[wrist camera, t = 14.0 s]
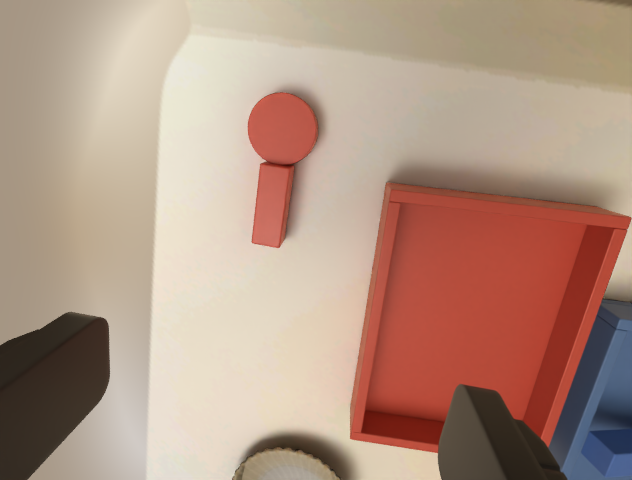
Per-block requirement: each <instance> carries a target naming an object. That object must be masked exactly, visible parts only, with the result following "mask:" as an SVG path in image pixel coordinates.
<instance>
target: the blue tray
mask: <svg viewBox="0 0 632 480" xmlns="http://www.w3.org/2000/svg"><path fill="white" fill-rule="evenodd" d="M619 429H632V303H630V302H622V301H614V300H607V299H602V302H601V304H600V307H599V310H598V313H597V315H596V318H595V321H594V324H593V326H592V329H591V332H590V335H589V337H588V340H587V343H586V346H585V348H584V351H583V354H582V357H581V359H580V362H579V365H578V368H577V370H576V373H575V376H574V379H573V381H572V384H571V387H570V390H569V392H568V395H567V398H566V401H565V403H564V406H563V409H562V412H561V414H560V417H559V420H558V423H557V425H556V428H555V431H554V434H553V436H552V439H551V442H550V445H549V447H548V448H549V450H550V452H551V453H552V455H553V456H554V458H555V460H556V461H557V463H558V465H559V466H560V472H563V473H564V474H565V476H566V477H567V479H568V480H632V476H620V477H607V478H606V477H604V476H603V475H602V474H601V473H600V472H599V471H598V470H597V469H596V468H595V467H594V466H593V465H592V464H591V463H590V462H589V461H588V460H587V459H586V458H585V457H584V456H583V455H582V453H581V451H582V449H583V446H584V444H585V441H586V439H587V436H588V434H589V432H590V431H599V430H619Z"/></svg>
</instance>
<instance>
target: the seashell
mask: <svg viewBox="0 0 632 480" xmlns="http://www.w3.org/2000/svg"><path fill="white" fill-rule="evenodd" d="M232 480H341V478H340V477H339V476H338V475H337V474H336V472H335V471H334V470H333V469H331V468H330V467H329V466H328V465H327V464H326V463H322V461H321V459H320V458H318V457H316V458H314V457H313V455H312V454H311V453H303V452H302V450H300V449H297V450H292V449H291V448H285V449H281V448H279V447H276V448H274V449H273V450H271V449H269V448H267V449H265V450H264V451H263V452H260V451H257V452H256V453H255V454H254V455H252V456H249V457H247V459H246V461H243V462H242V463H241V464H240V466H239V468H238V469H237V470H236V471H235V476H234V477H233V478H232Z"/></svg>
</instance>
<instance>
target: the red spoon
mask: <svg viewBox="0 0 632 480" xmlns="http://www.w3.org/2000/svg"><path fill="white" fill-rule="evenodd" d="M248 135H249V139H250V142H251V144H252V146H253V148H254V150H255V151H256V152H257V153H258V155H260V156H261V157H262V158H263V159H265V160H266V161H267V162H264V163H261V164H260V171H259V180H258V189H257V198H256V207H255V216H254V225H253V235H252V243H254V244H259V245H265V246H270V247H276V248H280V246H281V244H282V243H283V241H284V240H285V233H286V225H287V218H288V211H289V204H290V196H291V189H292V182H293V175H294V166H293V165H289V164H293V163H296V162H298V161H300V160H302V159H303V158H305V157H306V156H307V155H308V154H309V153H310V152H311V150H312V149H313V147H314V145H315V143H316V140H317V136H318V123H317V119H316V116H315V114H314V112H313V110H312V109H311V107H310V106H309V105H308V104H307V103H306V102H305V101H303V100H302V99H301V98H299V97H297V96H295V95H293V94H289V93H283V92H280V93H273V94H270V95H268V96H266V97H264V98H263V99H261V100H260V101H259V102H258V103H257V104H256V105H255V106H254V108H253V110H252V112H251V114H250V117H249V121H248Z"/></svg>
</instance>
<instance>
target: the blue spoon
mask: <svg viewBox="0 0 632 480" xmlns="http://www.w3.org/2000/svg"><path fill="white" fill-rule="evenodd" d="M581 453H582V455H583V456H584V457H585V458H586V459H587V460H588V461H589V462H590V463H591V464H592V465H593V466H594V467H595V468H596V469H597V470H598V471H599V472H600V473H601V474H602V475H603V476H604V477H606V478H607V477H620V476H632V429H619V430H599V431H590V432H589V434H588V436H587V439H586V441H585V444H584V446H583V449H582V451H581Z"/></svg>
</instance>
